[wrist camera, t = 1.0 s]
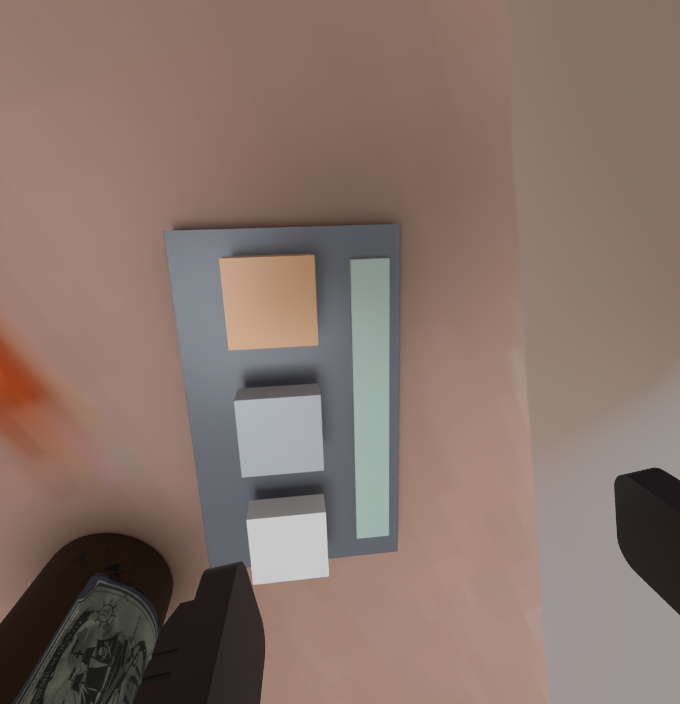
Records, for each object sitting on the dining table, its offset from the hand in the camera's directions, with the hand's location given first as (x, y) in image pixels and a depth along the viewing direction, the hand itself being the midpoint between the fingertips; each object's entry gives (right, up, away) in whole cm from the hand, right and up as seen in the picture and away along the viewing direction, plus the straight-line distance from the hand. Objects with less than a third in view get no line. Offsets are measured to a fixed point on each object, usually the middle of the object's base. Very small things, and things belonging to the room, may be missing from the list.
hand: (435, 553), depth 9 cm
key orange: (-6, +7, +16) cm, 19 cm away
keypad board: (-5, +1, +22) cm, 22 cm away
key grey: (-6, 0, +18) cm, 19 cm away
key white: (-6, -8, +21) cm, 23 cm away
